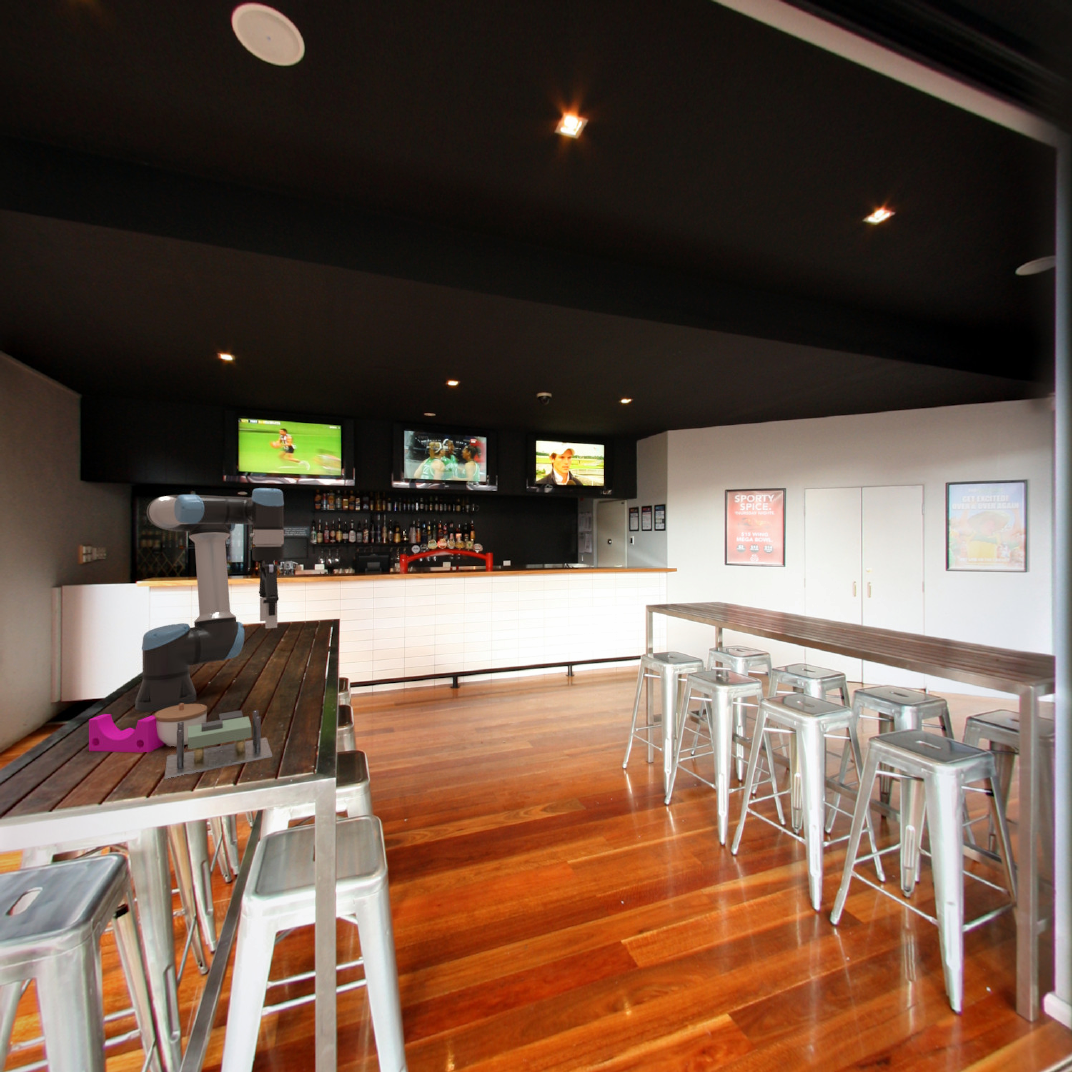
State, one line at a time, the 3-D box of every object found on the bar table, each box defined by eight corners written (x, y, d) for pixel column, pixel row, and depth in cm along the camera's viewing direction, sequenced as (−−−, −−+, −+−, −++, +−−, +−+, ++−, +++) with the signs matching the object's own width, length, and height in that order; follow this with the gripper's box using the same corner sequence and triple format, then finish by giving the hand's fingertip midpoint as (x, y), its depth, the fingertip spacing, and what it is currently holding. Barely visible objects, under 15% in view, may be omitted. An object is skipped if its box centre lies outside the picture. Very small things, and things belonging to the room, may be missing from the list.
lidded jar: (215, 733, 135) (215, 696, 135) (192, 750, 124) (192, 710, 124) (170, 734, 134) (170, 697, 134) (143, 751, 123) (144, 711, 123)
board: (188, 737, 119) (188, 722, 119) (248, 726, 126) (248, 712, 126) (187, 749, 113) (187, 733, 113) (251, 737, 119) (251, 722, 119)
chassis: (167, 760, 119) (167, 720, 119) (266, 741, 130) (266, 704, 130) (164, 781, 109) (164, 737, 109) (272, 758, 120) (272, 719, 120)
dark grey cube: (219, 733, 135) (219, 713, 135) (241, 729, 138) (241, 710, 138) (220, 739, 131) (220, 719, 131) (243, 735, 134) (243, 715, 134)
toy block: (169, 743, 129) (169, 712, 129) (148, 753, 123) (148, 721, 123) (112, 741, 130) (112, 710, 130) (89, 751, 124) (89, 719, 124)
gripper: (248, 545, 151) (248, 619, 151) (257, 546, 130) (257, 632, 130) (277, 544, 155) (277, 616, 155) (290, 546, 134) (290, 629, 134)
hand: (268, 624), depth 143 cm, fingers open, 13 cm apart
